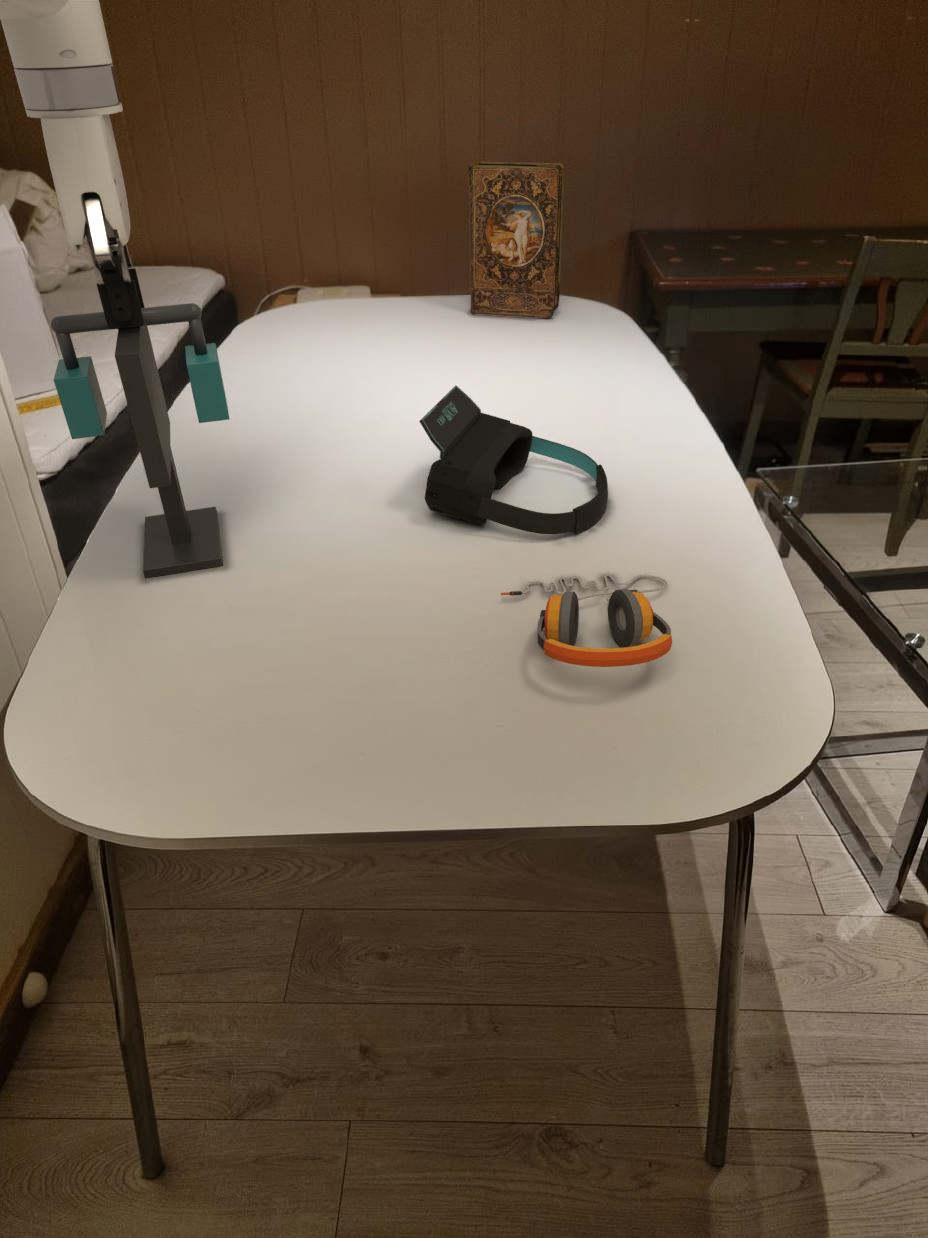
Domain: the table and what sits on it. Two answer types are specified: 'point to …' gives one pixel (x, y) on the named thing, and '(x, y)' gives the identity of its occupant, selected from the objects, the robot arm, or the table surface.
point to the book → (515, 238)
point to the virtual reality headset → (496, 468)
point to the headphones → (626, 623)
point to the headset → (82, 384)
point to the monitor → (162, 468)
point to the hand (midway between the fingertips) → (127, 318)
